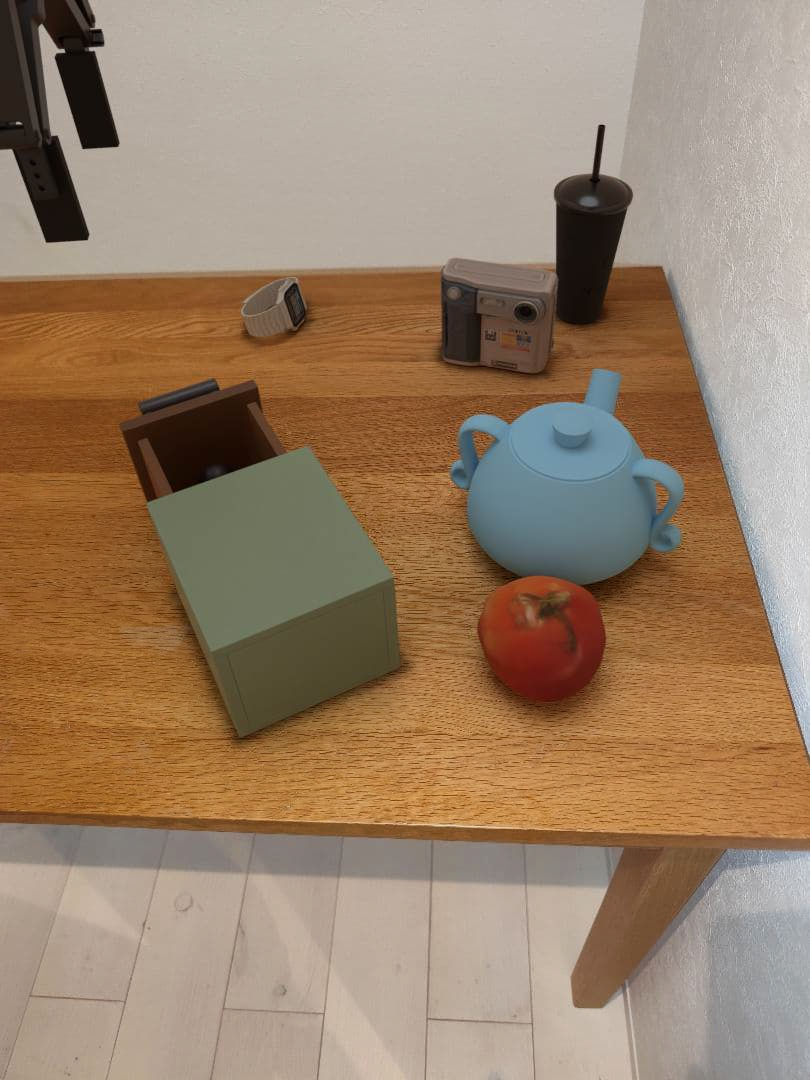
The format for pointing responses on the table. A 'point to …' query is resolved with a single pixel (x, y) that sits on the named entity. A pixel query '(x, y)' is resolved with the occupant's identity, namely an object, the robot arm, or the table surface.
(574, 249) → the drinking cup
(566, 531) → the teapot
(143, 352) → the table surface
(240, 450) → the drawer
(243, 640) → the cabinet
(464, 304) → the camera
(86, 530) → the table surface
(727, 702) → the table surface
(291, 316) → the wristwatch
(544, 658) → the tomato
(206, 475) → the egg
